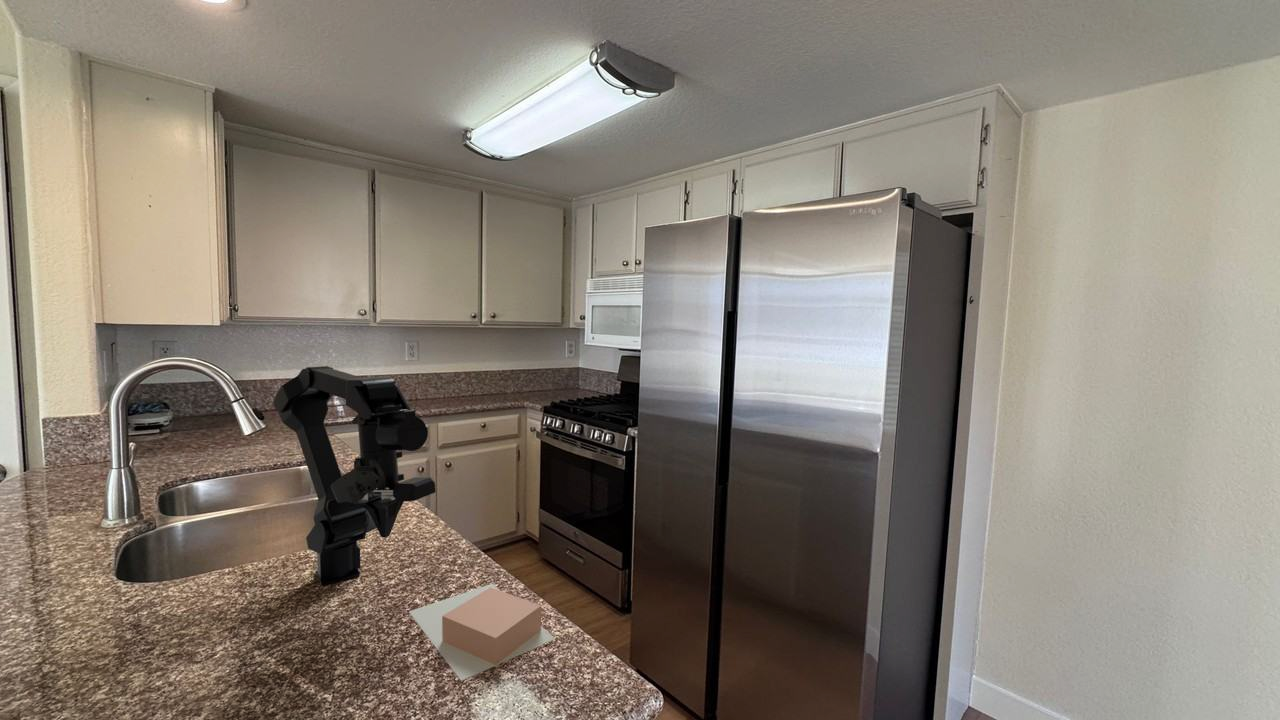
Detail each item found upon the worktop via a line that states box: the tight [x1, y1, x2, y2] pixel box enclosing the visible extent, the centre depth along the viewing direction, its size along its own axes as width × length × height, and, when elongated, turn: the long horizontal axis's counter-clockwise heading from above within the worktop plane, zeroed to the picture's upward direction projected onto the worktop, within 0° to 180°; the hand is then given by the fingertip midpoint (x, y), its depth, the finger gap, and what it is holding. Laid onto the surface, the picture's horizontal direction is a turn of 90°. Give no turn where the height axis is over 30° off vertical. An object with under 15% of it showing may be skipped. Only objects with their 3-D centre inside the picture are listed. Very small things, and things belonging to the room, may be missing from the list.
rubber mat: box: [408, 583, 556, 682], centre depth 84 cm, size 15×22×1 cm
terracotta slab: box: [442, 588, 542, 666], centre depth 81 cm, size 4×10×11 cm
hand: (385, 536), depth 92 cm, fingers closed
